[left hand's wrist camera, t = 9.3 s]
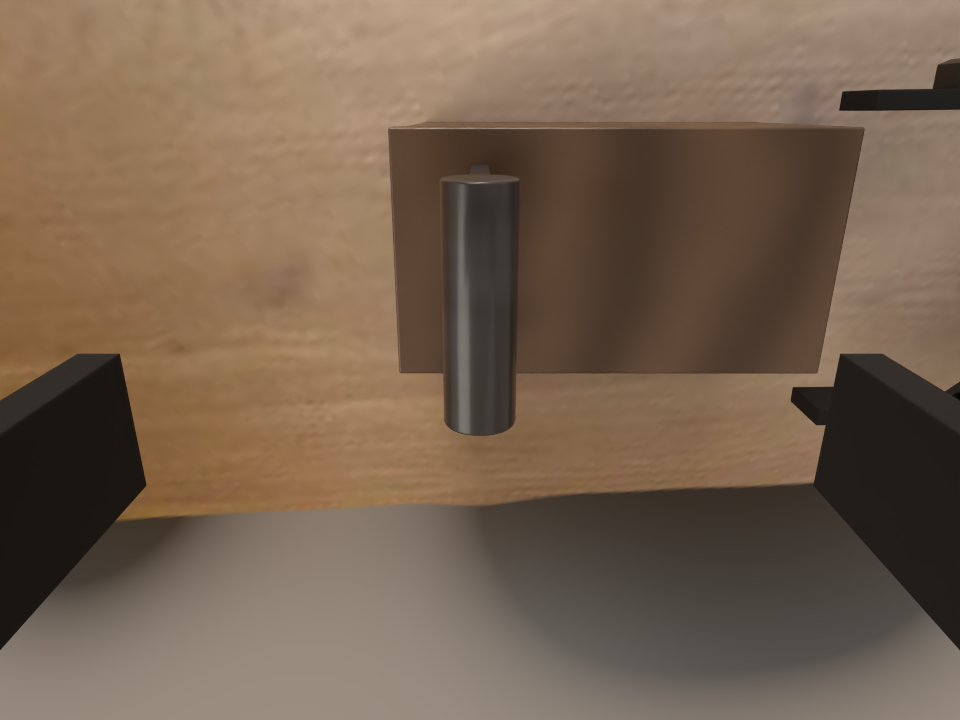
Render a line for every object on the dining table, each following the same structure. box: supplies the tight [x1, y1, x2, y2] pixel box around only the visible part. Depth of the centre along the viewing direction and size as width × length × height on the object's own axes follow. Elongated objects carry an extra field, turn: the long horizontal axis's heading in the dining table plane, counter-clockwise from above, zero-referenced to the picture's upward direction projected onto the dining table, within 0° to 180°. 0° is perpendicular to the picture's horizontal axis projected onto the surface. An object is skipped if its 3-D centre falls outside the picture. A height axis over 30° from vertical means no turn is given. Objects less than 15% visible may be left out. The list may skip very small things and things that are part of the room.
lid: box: [388, 127, 864, 436], centre depth 23 cm, size 17×10×9 cm, turn 90°
